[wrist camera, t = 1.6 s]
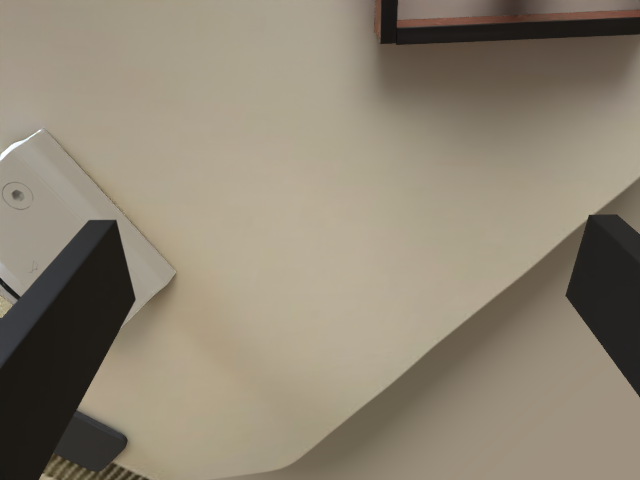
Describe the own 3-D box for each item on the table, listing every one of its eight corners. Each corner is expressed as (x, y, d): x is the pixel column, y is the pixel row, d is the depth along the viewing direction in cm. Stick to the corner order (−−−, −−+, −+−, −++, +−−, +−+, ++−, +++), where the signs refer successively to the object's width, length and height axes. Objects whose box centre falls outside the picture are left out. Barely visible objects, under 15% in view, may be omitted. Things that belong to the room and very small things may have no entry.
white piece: (179, 275, 45) (115, 362, 38) (148, 285, 48) (83, 369, 41) (40, 123, 38) (-71, 195, 31) (12, 146, 41) (-97, 217, 34)
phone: (3, 379, 51) (129, 443, 56) (7, 373, 52) (132, 437, 57) (-26, 416, 54) (97, 474, 59) (-21, 410, 55) (100, 468, 59)
